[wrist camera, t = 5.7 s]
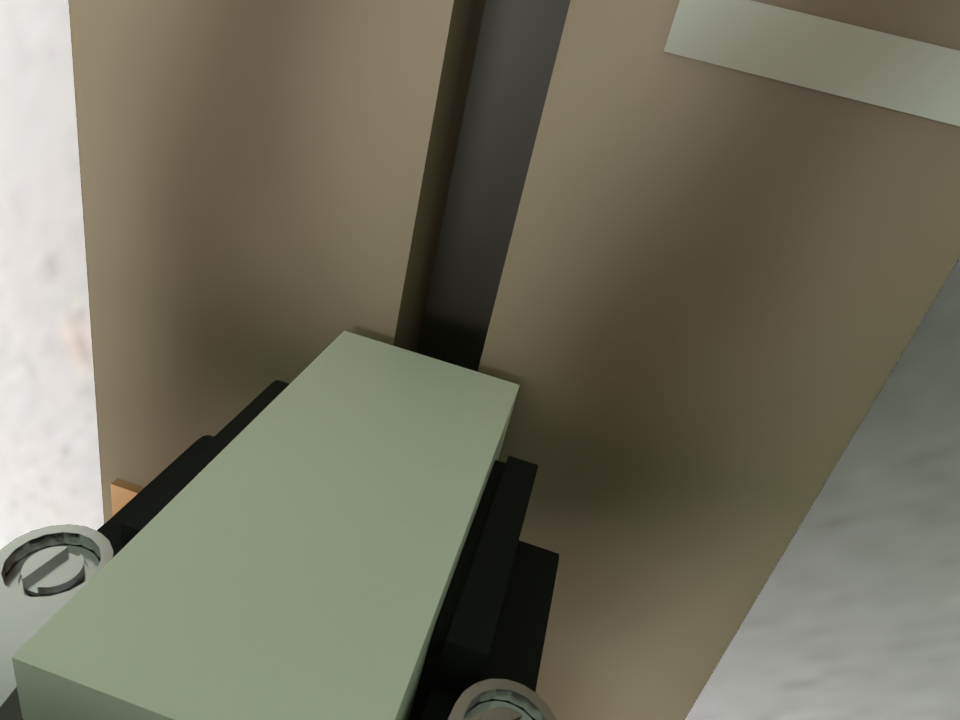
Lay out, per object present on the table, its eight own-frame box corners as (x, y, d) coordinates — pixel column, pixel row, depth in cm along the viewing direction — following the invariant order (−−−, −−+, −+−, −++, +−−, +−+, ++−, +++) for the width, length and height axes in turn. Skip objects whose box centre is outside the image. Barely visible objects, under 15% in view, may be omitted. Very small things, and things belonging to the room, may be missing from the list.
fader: (534, 345, 13) (367, 792, 5) (483, 520, 15) (312, 1014, 8) (376, 298, 13) (11, 657, 6) (348, 476, 15) (56, 908, 8)
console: (1164, -311, 9) (1401, -467, 6) (606, 755, 20) (598, 872, 17) (185, -491, 10) (8, -689, 7) (180, 600, 22) (110, 686, 19)
